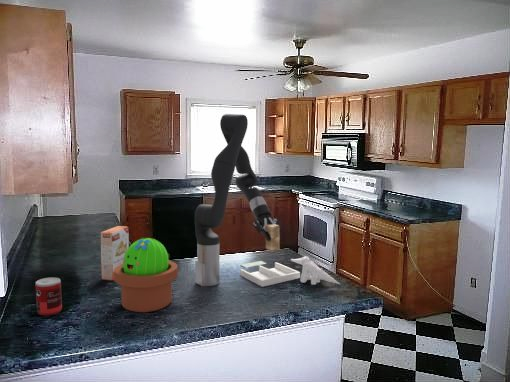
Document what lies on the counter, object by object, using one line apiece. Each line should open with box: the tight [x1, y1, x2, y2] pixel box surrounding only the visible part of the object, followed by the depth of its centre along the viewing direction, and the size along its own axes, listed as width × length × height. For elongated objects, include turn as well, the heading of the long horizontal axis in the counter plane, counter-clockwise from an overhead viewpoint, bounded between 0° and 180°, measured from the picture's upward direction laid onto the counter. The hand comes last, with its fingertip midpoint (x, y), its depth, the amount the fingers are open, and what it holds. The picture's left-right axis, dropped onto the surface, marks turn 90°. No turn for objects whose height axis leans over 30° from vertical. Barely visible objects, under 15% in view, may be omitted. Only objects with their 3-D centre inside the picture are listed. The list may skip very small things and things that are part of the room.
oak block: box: [265, 224, 281, 252], centre depth 185 cm, size 4×4×11 cm
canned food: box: [35, 276, 63, 317], centre depth 143 cm, size 8×8×11 cm
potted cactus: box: [113, 237, 179, 313], centre depth 150 cm, size 22×22×25 cm
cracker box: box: [100, 225, 130, 281], centre depth 181 cm, size 14×6×21 cm, turn 168°
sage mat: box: [240, 260, 267, 269], centre depth 196 cm, size 12×12×1 cm
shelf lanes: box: [239, 261, 301, 287], centre depth 180 cm, size 20×17×4 cm
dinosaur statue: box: [290, 255, 341, 285], centre depth 172 cm, size 7×24×11 cm, turn 54°
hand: (274, 239), depth 184 cm, fingers closed on oak block, 4 cm apart
